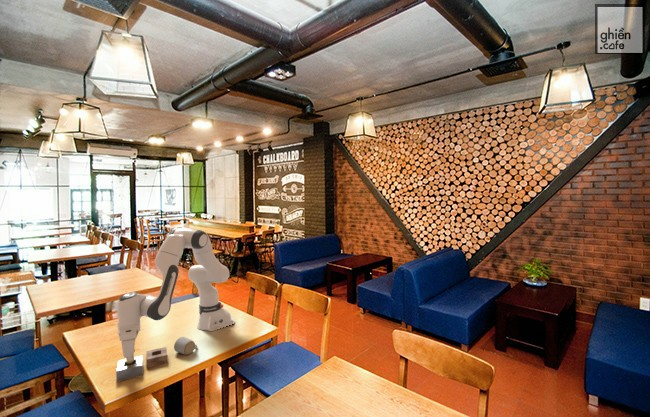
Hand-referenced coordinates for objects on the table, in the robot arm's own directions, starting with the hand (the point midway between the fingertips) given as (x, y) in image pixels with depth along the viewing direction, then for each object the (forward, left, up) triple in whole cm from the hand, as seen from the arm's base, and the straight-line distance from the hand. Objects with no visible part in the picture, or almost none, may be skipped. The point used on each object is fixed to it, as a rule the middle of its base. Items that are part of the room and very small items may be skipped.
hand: (130, 357), depth 143 cm
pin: (0, 0, -7) cm, 7 cm away
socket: (0, 0, -8) cm, 8 cm away
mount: (-11, -6, -8) cm, 15 cm away
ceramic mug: (-25, -8, -8) cm, 28 cm away
